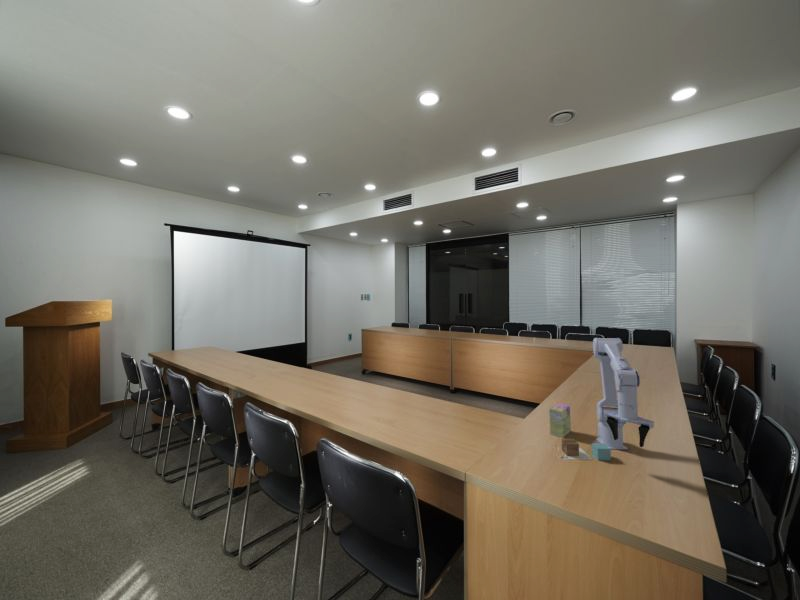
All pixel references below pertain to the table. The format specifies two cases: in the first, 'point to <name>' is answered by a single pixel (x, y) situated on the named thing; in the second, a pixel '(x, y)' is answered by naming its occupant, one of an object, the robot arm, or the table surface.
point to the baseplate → (581, 456)
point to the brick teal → (601, 451)
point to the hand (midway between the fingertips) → (628, 442)
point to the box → (560, 420)
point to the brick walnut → (570, 447)
